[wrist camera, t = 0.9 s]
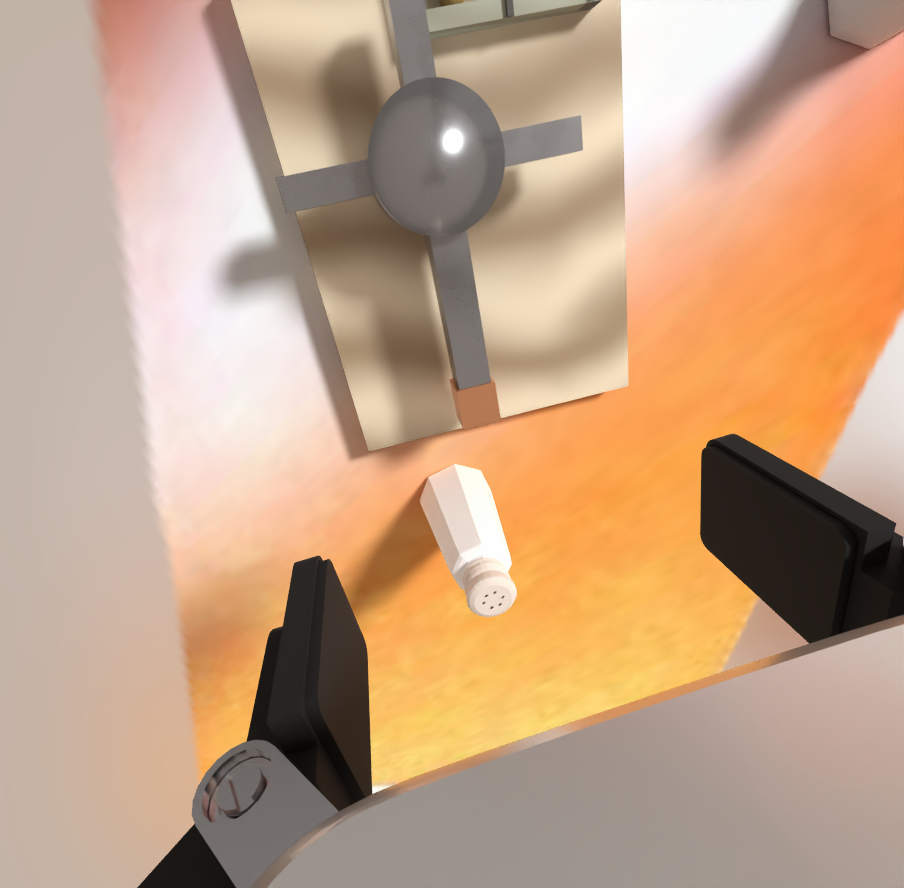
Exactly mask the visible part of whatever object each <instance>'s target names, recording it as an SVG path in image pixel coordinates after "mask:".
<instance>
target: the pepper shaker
mask: <svg viewBox="0 0 904 888" xmlns="http://www.w3.org/2000/svg"><path fill="white" fill-rule="evenodd" d="M420 504H421V506H422V508H423V511H424V513H425V515H426V518H427V520H428V522H429V524H430V527H431V529H432V531H433V534H434V536H435V538H436V541H437V543H438V545H439V548H440V550H441V552H442V555H443V557H444V559H445V561H446V564H447V566H448V568H449V570H450V572H451V574H452V576H453V577H454V579H455V580H456V582H457V584H458V585H459V587H460V588H461V589H464V590H465V593H466V596H467V603H468V607H469V608H470V610H471V611H472V612H474V613H475V614H477V615H480V616H484V617H492V616H496V615H499V614H501V613H503V612H505V611H506V610H508V609H509V608H510V607H511V606H512V604H513V603H514V601H515V599H516V595H517V591H516V587H515V585H514V583H513V581H512V580H511V578H510V576H509V574H508V571H509V569H510V567H511V565H512V563H511V558H510V554H509V550H508V547H507V544H506V540H505V537H504V533H503V530H502V526H501V523H500V520H499V516H498V513H497V509H496V506H495V503H494V499H493V496H492V492H491V490H490V488H489V486H488V484H487V482H486V480H485V478H484V476H483V474H482V472H481V470H478V469H473V468H469V467H465V466H461V465H457V464H453V465H451V466H449V467H447V468H445V469H443V470H441V471H439V472H437V473H435V474H433V475H431V476H429V477H428V479H427V482H426V485H425V487H424V490H423V493H422V495H421V498H420Z"/></svg>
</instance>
